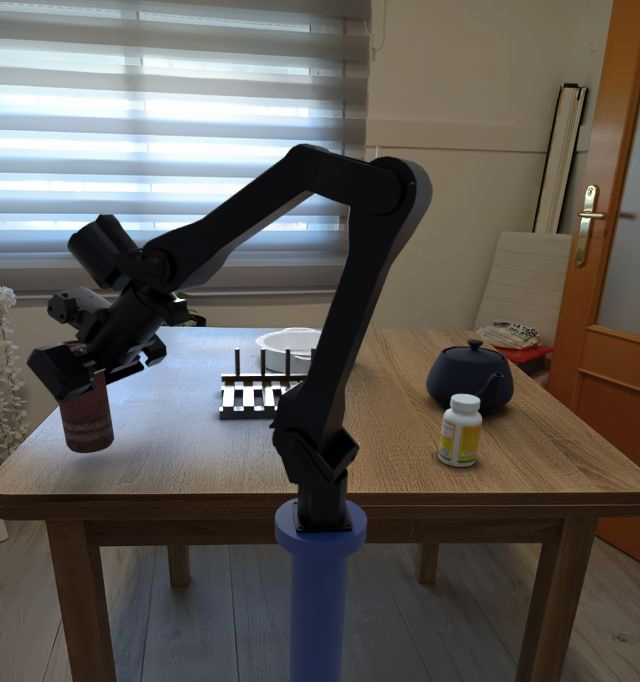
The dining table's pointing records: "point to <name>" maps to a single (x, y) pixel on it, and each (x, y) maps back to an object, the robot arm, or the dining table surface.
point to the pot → (298, 345)
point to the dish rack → (256, 389)
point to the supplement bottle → (460, 431)
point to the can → (87, 414)
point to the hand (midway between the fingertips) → (74, 394)
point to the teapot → (471, 376)
